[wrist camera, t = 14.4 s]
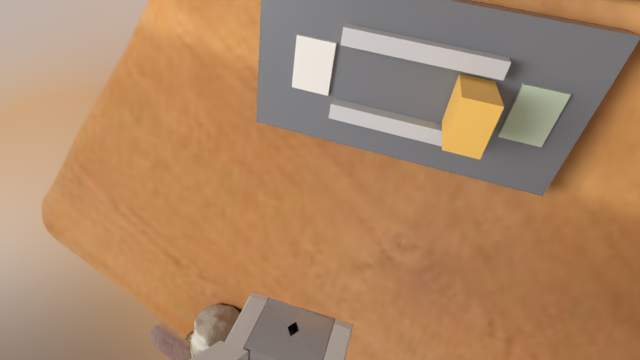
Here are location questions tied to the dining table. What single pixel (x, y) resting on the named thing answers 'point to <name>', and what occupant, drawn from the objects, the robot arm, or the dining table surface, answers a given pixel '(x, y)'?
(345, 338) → the robot arm
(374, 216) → the dining table surface
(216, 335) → the ceramic sculpture
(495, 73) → the grey slider track base
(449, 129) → the lever
